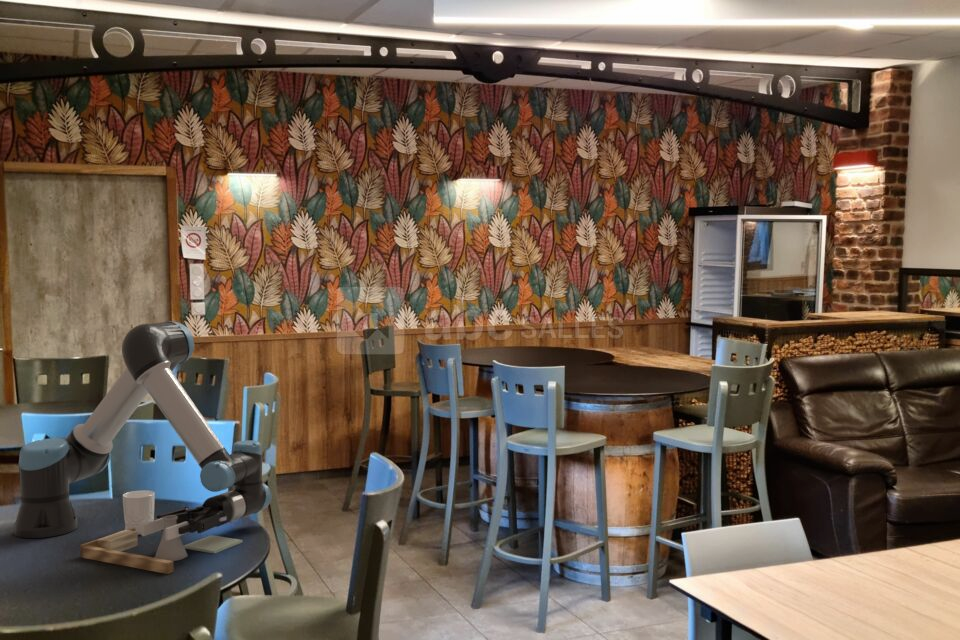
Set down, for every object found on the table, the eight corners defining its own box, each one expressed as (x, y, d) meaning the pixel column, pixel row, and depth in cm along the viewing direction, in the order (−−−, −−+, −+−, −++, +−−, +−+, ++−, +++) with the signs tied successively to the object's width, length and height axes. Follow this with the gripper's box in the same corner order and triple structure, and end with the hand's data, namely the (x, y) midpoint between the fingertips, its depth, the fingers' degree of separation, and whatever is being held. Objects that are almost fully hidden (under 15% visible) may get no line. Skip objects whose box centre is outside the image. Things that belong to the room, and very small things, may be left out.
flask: (167, 565, 213) (165, 522, 212) (148, 559, 217) (147, 517, 216) (193, 557, 218) (192, 515, 218) (175, 551, 223) (174, 511, 222)
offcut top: (97, 547, 221) (97, 539, 221) (125, 537, 229) (125, 529, 229) (110, 549, 219) (110, 541, 219) (137, 539, 228) (137, 531, 227)
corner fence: (80, 557, 218) (80, 544, 218) (132, 539, 233) (132, 527, 233) (168, 574, 206) (167, 560, 206) (217, 554, 220) (217, 541, 220)
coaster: (183, 548, 225) (183, 545, 225) (211, 537, 234) (211, 535, 234) (214, 553, 221) (214, 551, 221) (242, 542, 230) (242, 540, 230)
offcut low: (96, 555, 221) (96, 547, 221) (125, 545, 229) (125, 537, 229) (108, 557, 220) (108, 549, 219) (137, 547, 228) (137, 539, 228)
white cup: (160, 527, 243) (159, 490, 243) (147, 536, 236) (146, 497, 235) (132, 526, 244) (131, 489, 244) (117, 535, 236) (116, 497, 236)
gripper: (253, 528, 229) (187, 553, 209) (193, 518, 238) (124, 542, 217) (253, 498, 229) (186, 521, 208) (193, 490, 238) (123, 511, 217)
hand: (154, 532), depth 213 cm, fingers open, 7 cm apart
